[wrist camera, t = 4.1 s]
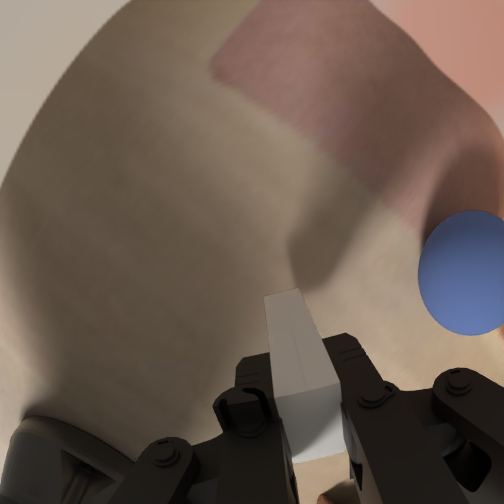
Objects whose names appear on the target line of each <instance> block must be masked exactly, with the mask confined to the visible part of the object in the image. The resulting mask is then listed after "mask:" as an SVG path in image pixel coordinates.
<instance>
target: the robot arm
mask: <svg viewBox="0 0 504 504" xmlns="http://www.w3.org/2000/svg"><path fill="white" fill-rule="evenodd" d="M264 303H265V313H266V322H267V332H268V341H269V351H270V352H269V353H264V354H259V355H254V356H249V357H244V358H242V360H241V361H240V362H239V364H238V365H237V367H236V375H235V378H236V379H235V387H233V388H230V389H229V390H227V391H225V392H223V393H222V394H221V395H220V396H219V397H218V398H217V399H216V400H215V402H214V404H213V406H212V407H213V410H214V412H215V414H216V416H217V419H218V421H219V423H220V425H221V428H222V430H223V433H222V434H220V435H219V436H217V437H216V438H213V439H211V440H209V441H206V442H202V443H199V444H196V445H193V446H191V445H190V444H189V443H188V442H187V441H186V440H184V439H181V438H178V437H166V438H163V439H159V440H157V441H155V442H153V443H151V444H150V445H149V446H148V447H147V448H146V449H145V450H144V451H143V452H142V454H141V455H140V457H139V458H138V459H137V461H136V462H135V464H134V463H133V462H131V461H130V460H129V459H127V458H126V457H125V456H123V455H122V454H120V453H119V452H117V451H116V450H114V449H113V448H111V447H110V446H108V445H106V444H105V443H103V442H101V441H100V440H98V439H96V438H94V437H92V436H91V435H89V434H87V433H85V432H83V431H81V430H79V429H77V428H75V427H72V426H70V425H68V424H65V423H63V422H60V421H57V420H54V419H51V418H46V417H40V416H32V417H28V418H26V419H24V420H23V421H22V423H21V424H20V425H19V426H18V428H17V429H16V430H15V431H14V433H13V434H12V436H11V439H10V445H9V448H8V452H7V455H6V459H5V464H4V468H3V473H2V478H1V484H0V504H300V503H299V496H298V489H297V482H296V477H295V474H294V470H293V464H295V463H300V462H305V461H310V460H314V459H319V458H323V457H327V456H331V455H335V454H339V453H342V452H346V447H347V451H348V454H349V462H350V479H354V482H355V485H356V488H357V492H358V495H359V498H360V502H361V504H504V387H502V386H500V385H498V384H497V383H495V382H493V381H492V380H490V379H488V378H486V377H485V376H483V375H481V374H479V373H478V372H476V371H474V370H471V369H468V368H454V369H449V370H447V371H445V372H443V373H441V374H440V375H439V376H438V377H437V378H436V379H435V381H434V384H433V388H429V389H422V390H416V391H402V390H400V389H399V388H398V387H397V386H395V385H394V384H393V383H390V382H387V381H383V379H382V377H381V376H380V374H379V373H378V371H377V370H376V368H375V366H374V365H373V363H372V362H371V360H370V359H369V357H368V355H366V352H365V351H364V349H363V348H362V346H361V345H360V343H359V342H358V340H357V339H356V338H355V337H353V336H351V335H349V334H347V333H343V334H339V335H335V336H332V337H328V338H324V339H321V337H320V335H319V332H318V330H317V328H316V326H315V323H314V321H313V319H312V317H311V314H310V312H309V310H308V308H307V305H306V303H305V301H304V299H303V297H302V294H301V292H300V290H299V288H297V289H293V290H289V291H285V292H280V293H276V294H272V295H267V296H264ZM345 444H346V446H345Z"/></svg>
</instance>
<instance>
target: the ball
mask: <svg viewBox="0 0 504 504" xmlns="http://www.w3.org/2000/svg"><path fill="white" fill-rule="evenodd" d="M418 283H419V289H420V293H421V297H422V299H423V302H424V304H425V306H426V308H427V310H428V311H429V313H430V314H431V316H432V317H433V318H434V319H435V320H436V321H437V322H438V323H439V324H440V325H441V326H443V327H444V328H446V329H448V330H449V331H452V332H454V333H457V334H461V335H468V336H472V335H481V334H484V333H488V332H490V331H492V330H494V329H496V328H498V327H499V326H501V325H502V324H503V323H504V221H503V220H502V219H501V218H499V217H497V216H495V215H493V214H491V213H488V212H484V211H477V210H469V211H463V212H459V213H456V214H454V215H452V216H450V217H448V218H447V219H445V220H444V221H443V222H441V223H440V224H439V225H438V226H437V227H436V228H435V229H434V230H433V232H432V233H431V234H430V236H429V237H428V239H427V241H426V243H425V245H424V247H423V250H422V253H421V256H420V261H419V267H418Z"/></svg>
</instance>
